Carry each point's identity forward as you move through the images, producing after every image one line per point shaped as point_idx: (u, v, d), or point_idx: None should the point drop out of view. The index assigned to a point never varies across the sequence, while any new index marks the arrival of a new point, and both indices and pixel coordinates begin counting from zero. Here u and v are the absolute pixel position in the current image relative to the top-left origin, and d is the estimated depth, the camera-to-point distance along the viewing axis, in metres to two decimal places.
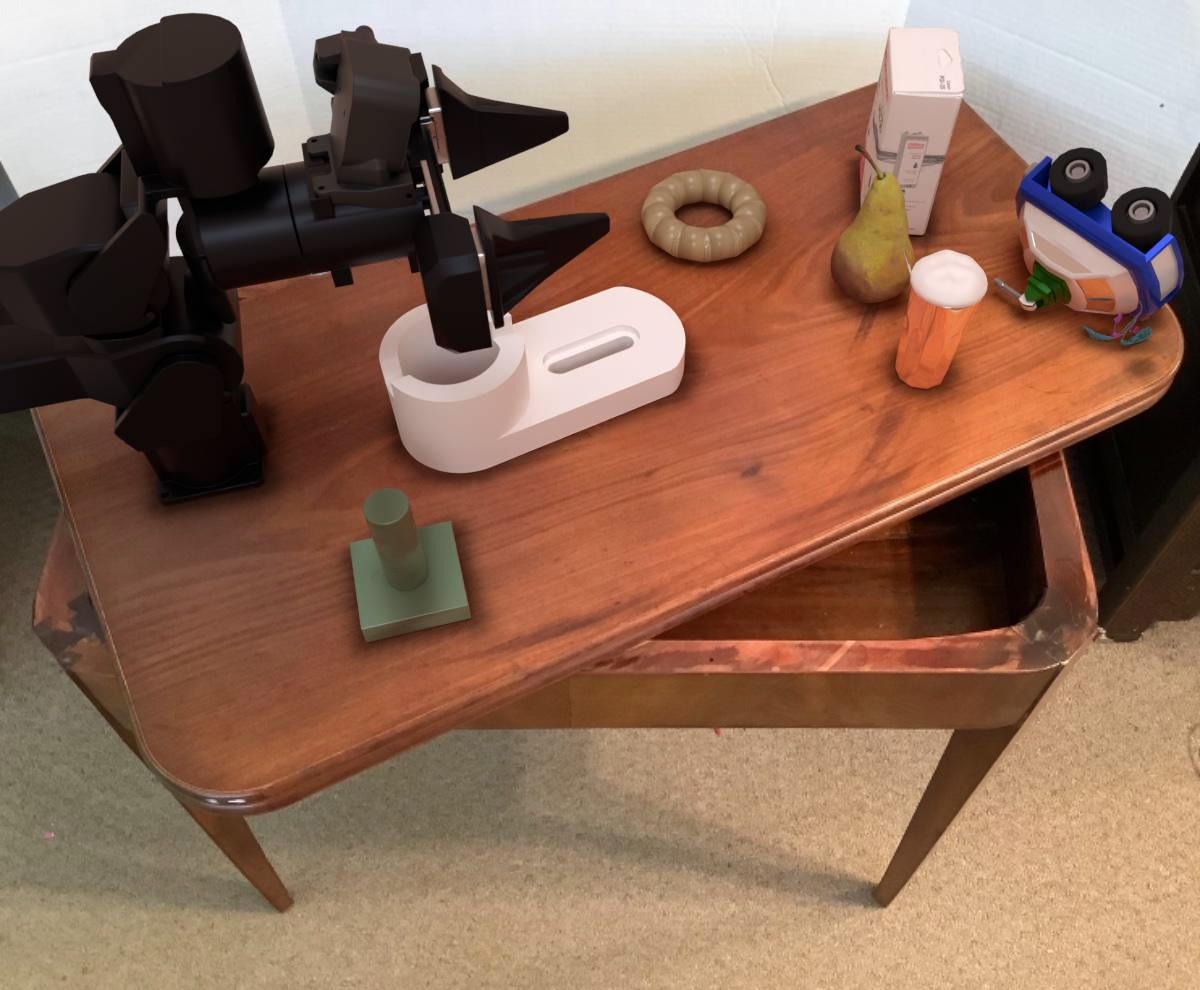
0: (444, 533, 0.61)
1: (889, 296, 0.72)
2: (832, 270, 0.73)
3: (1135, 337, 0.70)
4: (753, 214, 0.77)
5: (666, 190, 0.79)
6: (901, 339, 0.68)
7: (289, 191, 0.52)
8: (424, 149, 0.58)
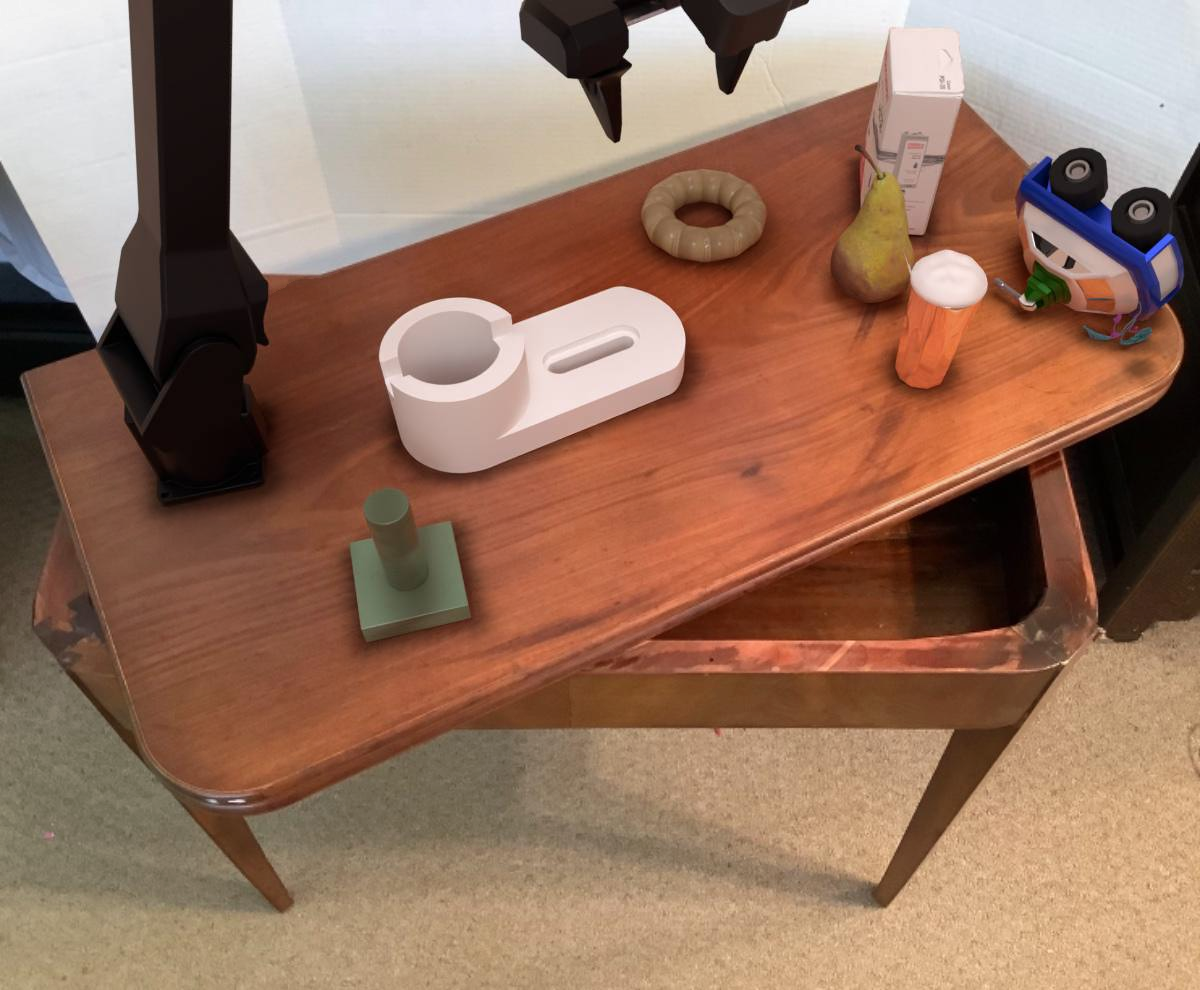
0: (444, 533, 0.61)
1: (889, 296, 0.72)
2: (832, 270, 0.73)
3: (1134, 337, 0.70)
4: (753, 214, 0.77)
5: (666, 190, 0.79)
6: (901, 339, 0.68)
7: None
8: None
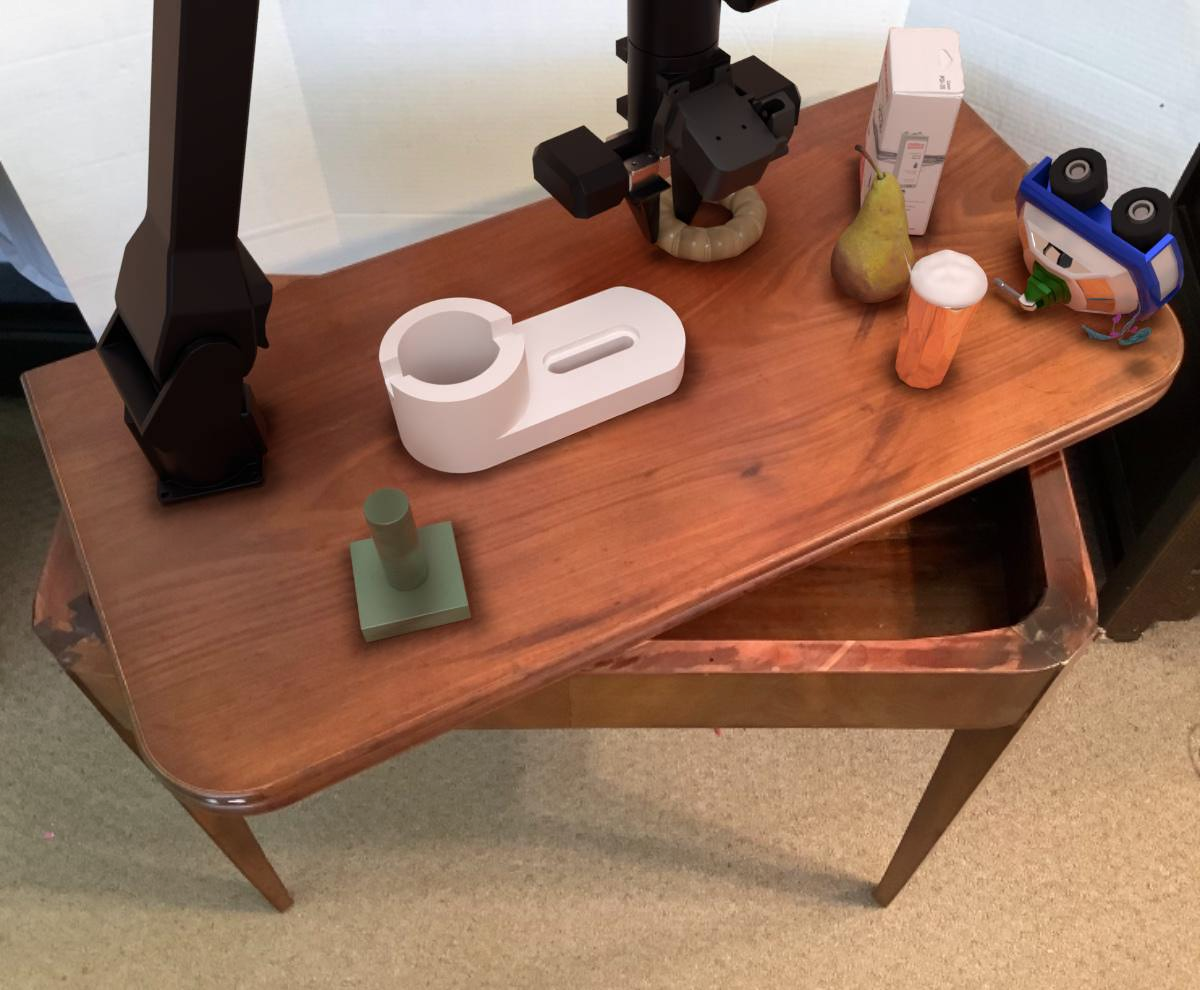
0: (444, 533, 0.61)
1: (889, 296, 0.72)
2: (832, 270, 0.73)
3: (1134, 337, 0.70)
4: (753, 214, 0.77)
5: (666, 190, 0.79)
6: (901, 339, 0.68)
7: (683, 58, 0.63)
8: None
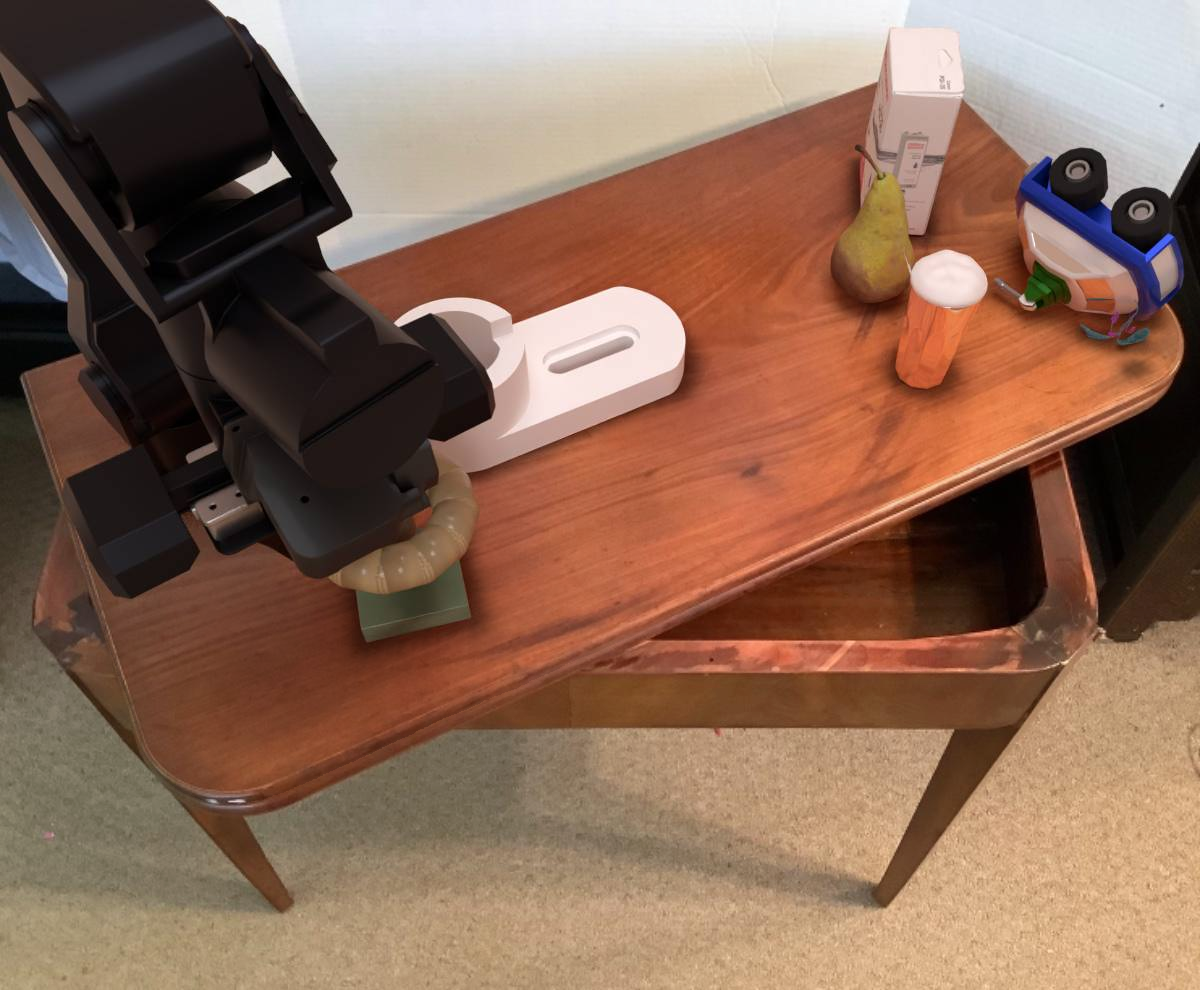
0: None
1: (889, 296, 0.72)
2: (832, 270, 0.73)
3: (1131, 337, 0.70)
4: (452, 522, 0.54)
5: None
6: (901, 339, 0.68)
7: None
8: None
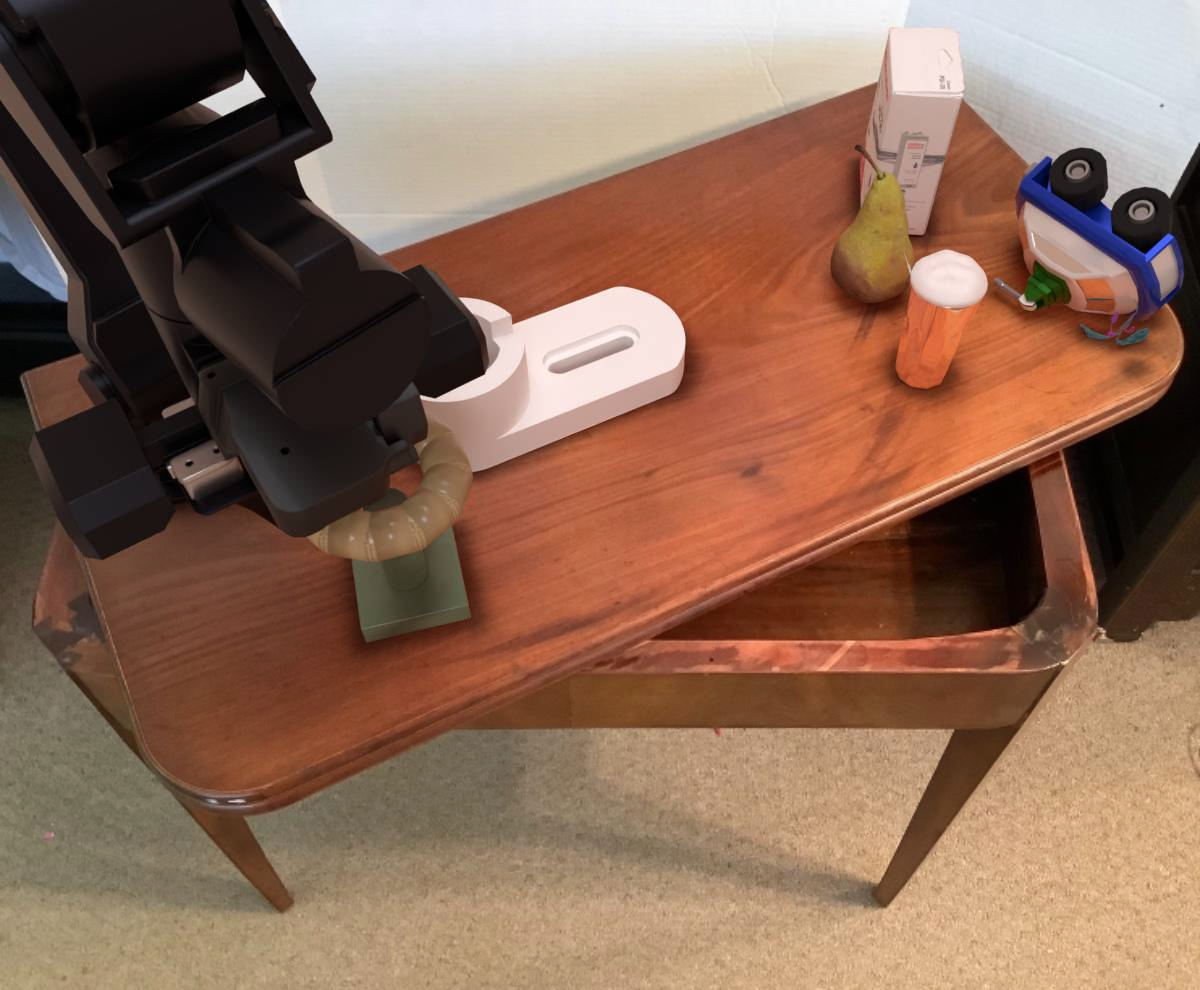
0: (444, 533, 0.61)
1: (889, 296, 0.72)
2: (832, 270, 0.73)
3: (1131, 337, 0.70)
4: (444, 486, 0.51)
5: None
6: (901, 339, 0.68)
7: None
8: None
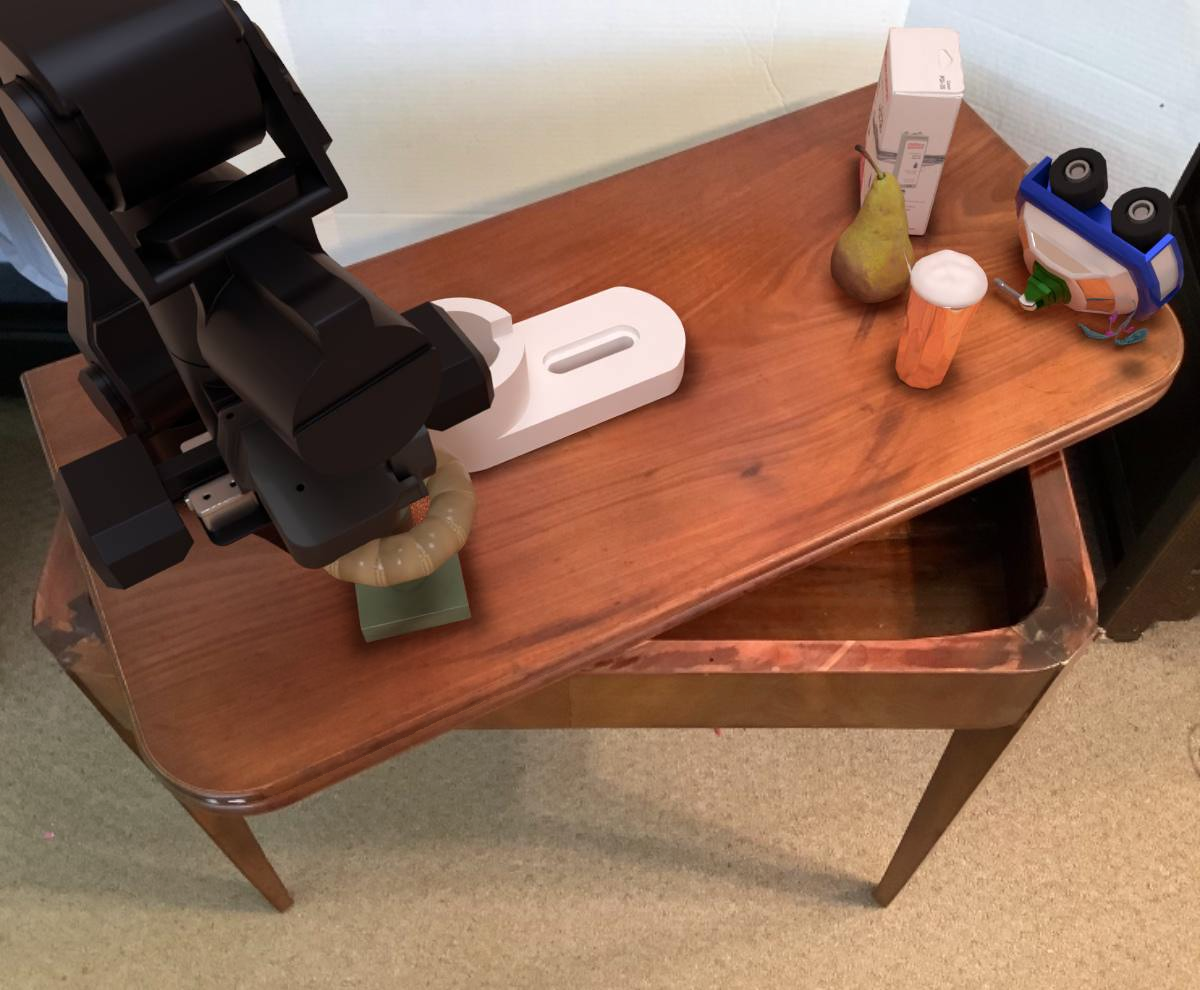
0: None
1: (889, 296, 0.72)
2: (832, 270, 0.73)
3: (1130, 337, 0.70)
4: (451, 514, 0.53)
5: None
6: (901, 339, 0.68)
7: None
8: None
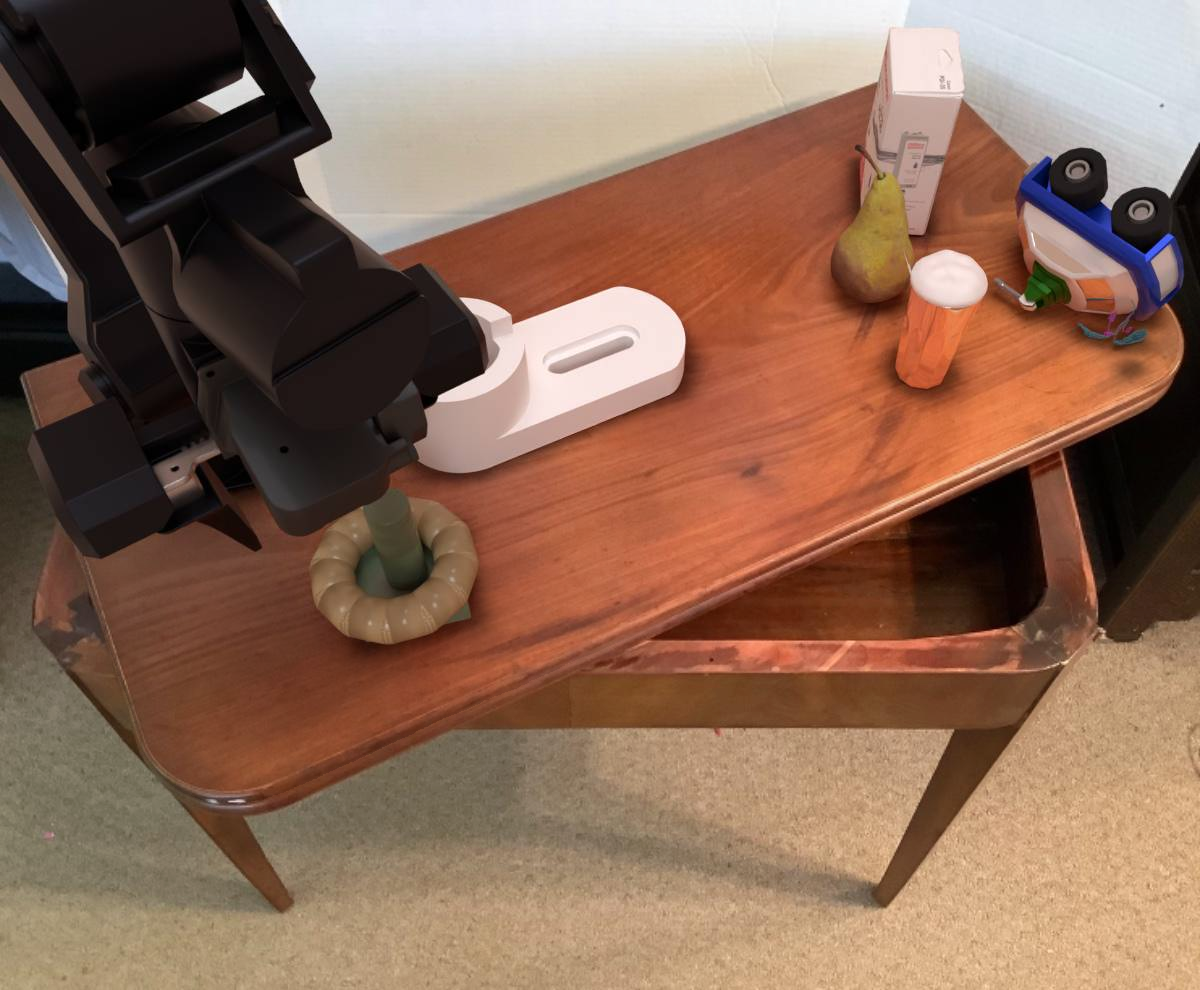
0: None
1: (889, 296, 0.72)
2: (832, 270, 0.73)
3: (1128, 338, 0.70)
4: (453, 576, 0.57)
5: (343, 536, 0.58)
6: (901, 339, 0.68)
7: None
8: None
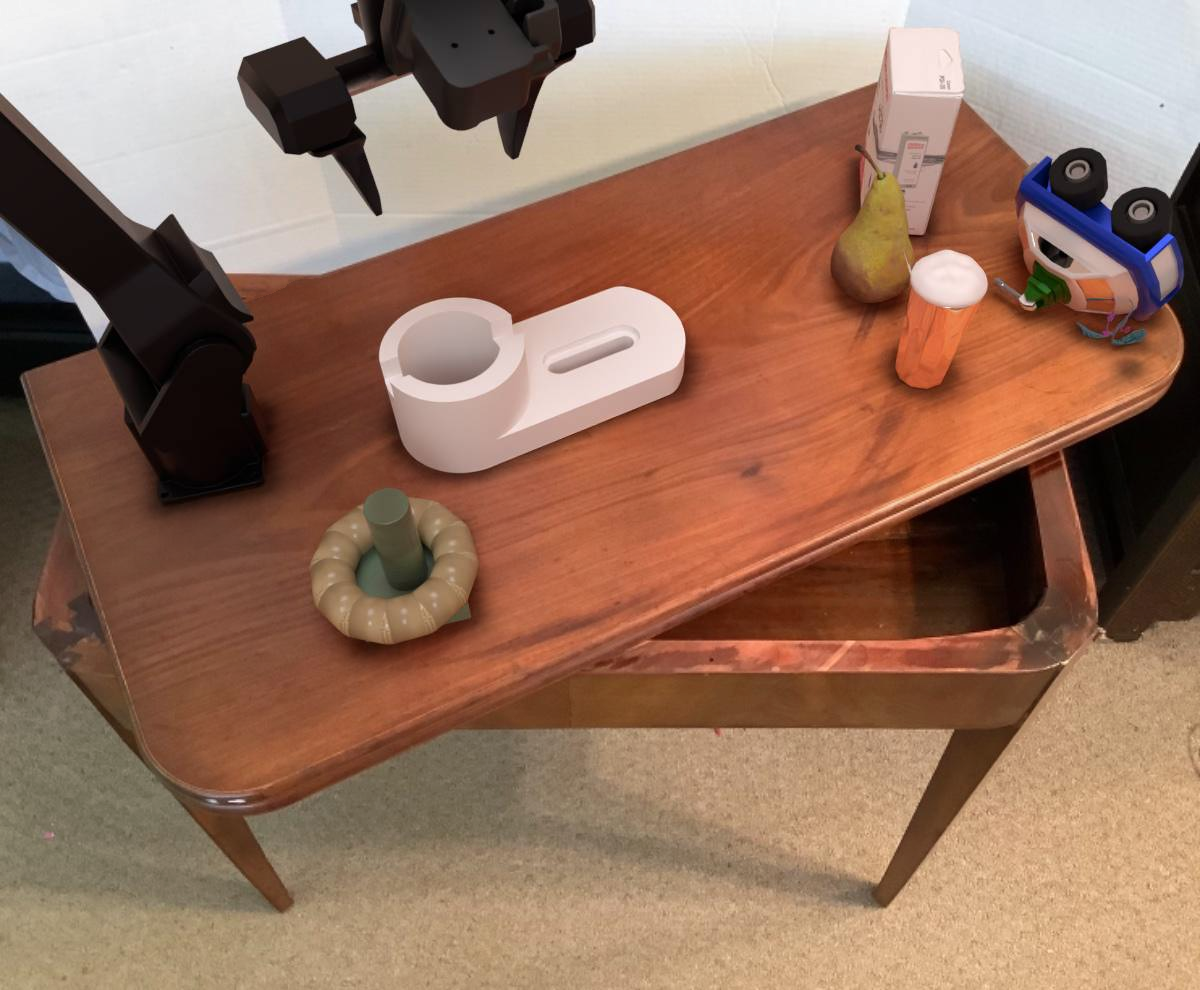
0: None
1: (889, 296, 0.72)
2: (832, 270, 0.73)
3: (1127, 338, 0.70)
4: (453, 576, 0.57)
5: (343, 536, 0.58)
6: (901, 339, 0.68)
7: None
8: None
